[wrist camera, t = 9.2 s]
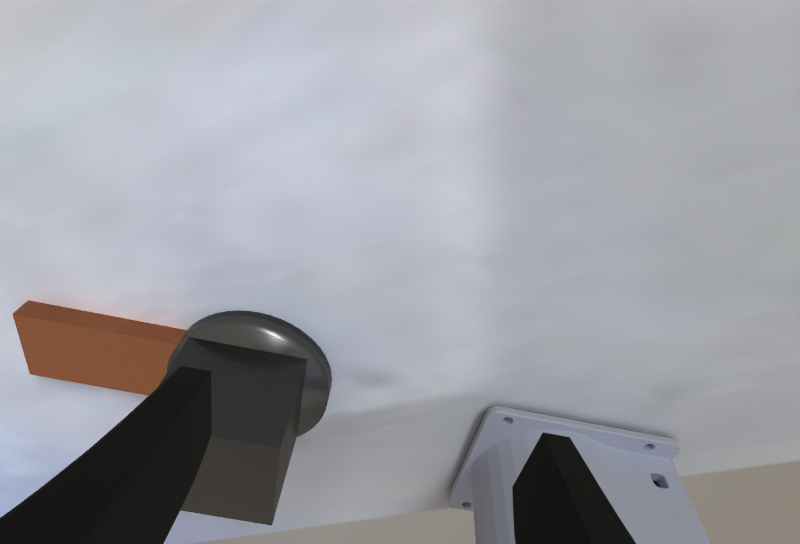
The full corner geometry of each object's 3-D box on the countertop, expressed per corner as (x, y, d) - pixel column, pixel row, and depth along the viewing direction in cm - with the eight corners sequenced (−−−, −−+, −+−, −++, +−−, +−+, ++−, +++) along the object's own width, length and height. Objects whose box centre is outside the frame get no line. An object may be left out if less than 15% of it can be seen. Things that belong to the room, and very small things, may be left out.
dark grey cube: (307, 359, 21) (280, 448, 17) (297, 434, 24) (271, 525, 20) (188, 336, 21) (135, 423, 17) (192, 415, 24) (146, 504, 20)
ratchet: (341, 327, 22) (326, 391, 19) (322, 433, 26) (307, 500, 23) (19, 265, 21) (-52, 322, 18) (50, 385, 25) (-4, 448, 22)
